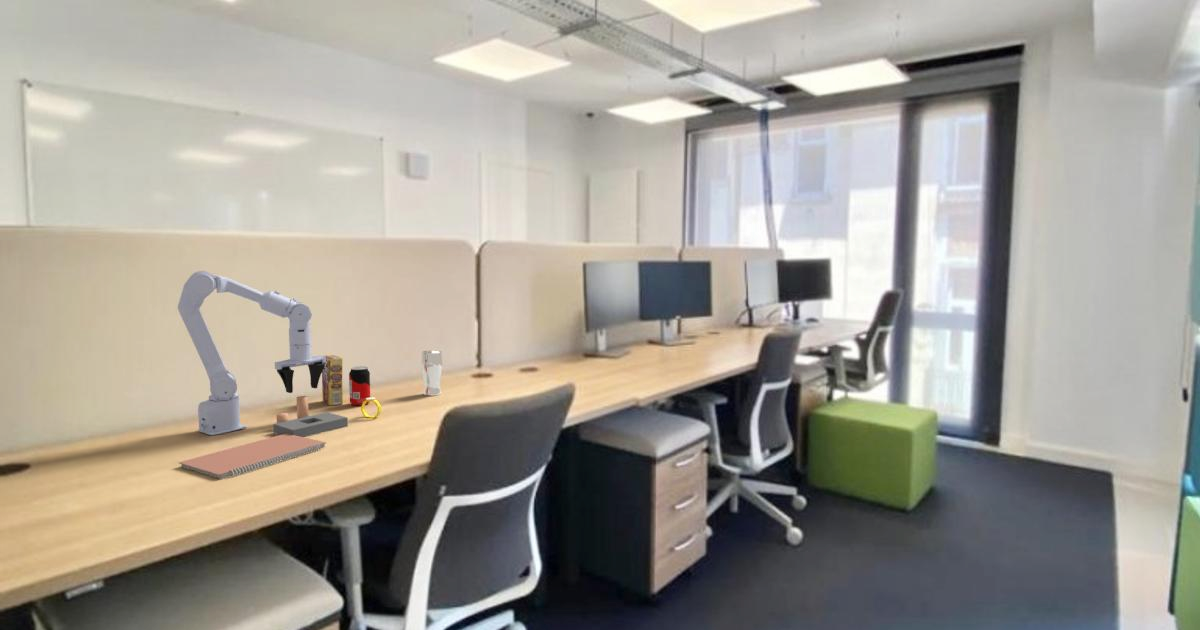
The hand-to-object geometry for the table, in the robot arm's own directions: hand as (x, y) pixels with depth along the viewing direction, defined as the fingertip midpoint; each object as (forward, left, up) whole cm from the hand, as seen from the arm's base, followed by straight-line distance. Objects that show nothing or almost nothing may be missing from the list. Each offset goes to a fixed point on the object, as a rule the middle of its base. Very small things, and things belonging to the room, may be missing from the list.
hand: (302, 390), depth 186 cm
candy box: (+18, +13, -9) cm, 24 cm away
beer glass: (+46, -3, -9) cm, 47 cm away
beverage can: (+22, +4, -9) cm, 24 cm away
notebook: (-25, -23, -10) cm, 35 cm away
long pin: (0, 0, -9) cm, 9 cm away
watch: (+14, -13, -9) cm, 21 cm away
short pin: (-8, -3, -9) cm, 13 cm away
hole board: (-4, -11, -9) cm, 15 cm away
